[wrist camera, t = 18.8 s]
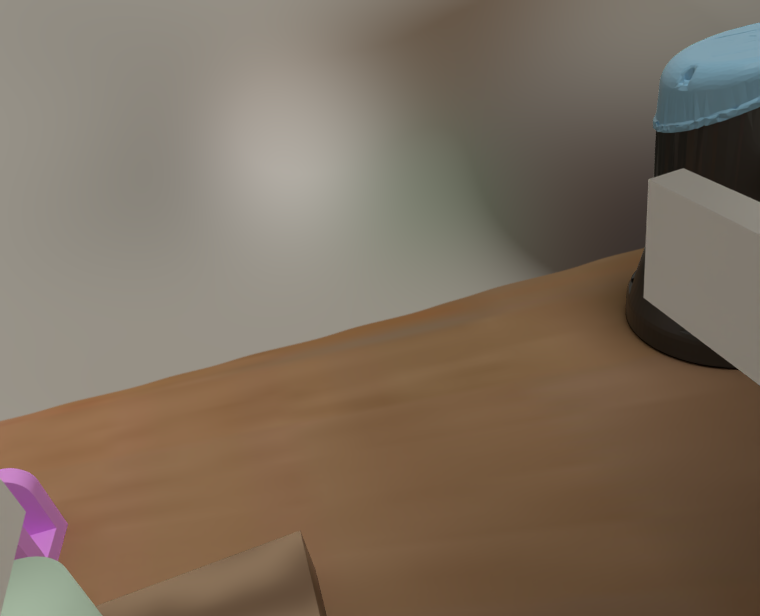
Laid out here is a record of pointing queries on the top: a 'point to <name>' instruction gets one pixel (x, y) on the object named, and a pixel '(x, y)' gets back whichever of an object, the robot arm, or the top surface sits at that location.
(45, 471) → the top surface
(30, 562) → the green post
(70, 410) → the top surface
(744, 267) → the robot arm
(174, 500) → the top surface
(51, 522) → the bracket
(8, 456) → the top surface
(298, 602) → the walnut base
